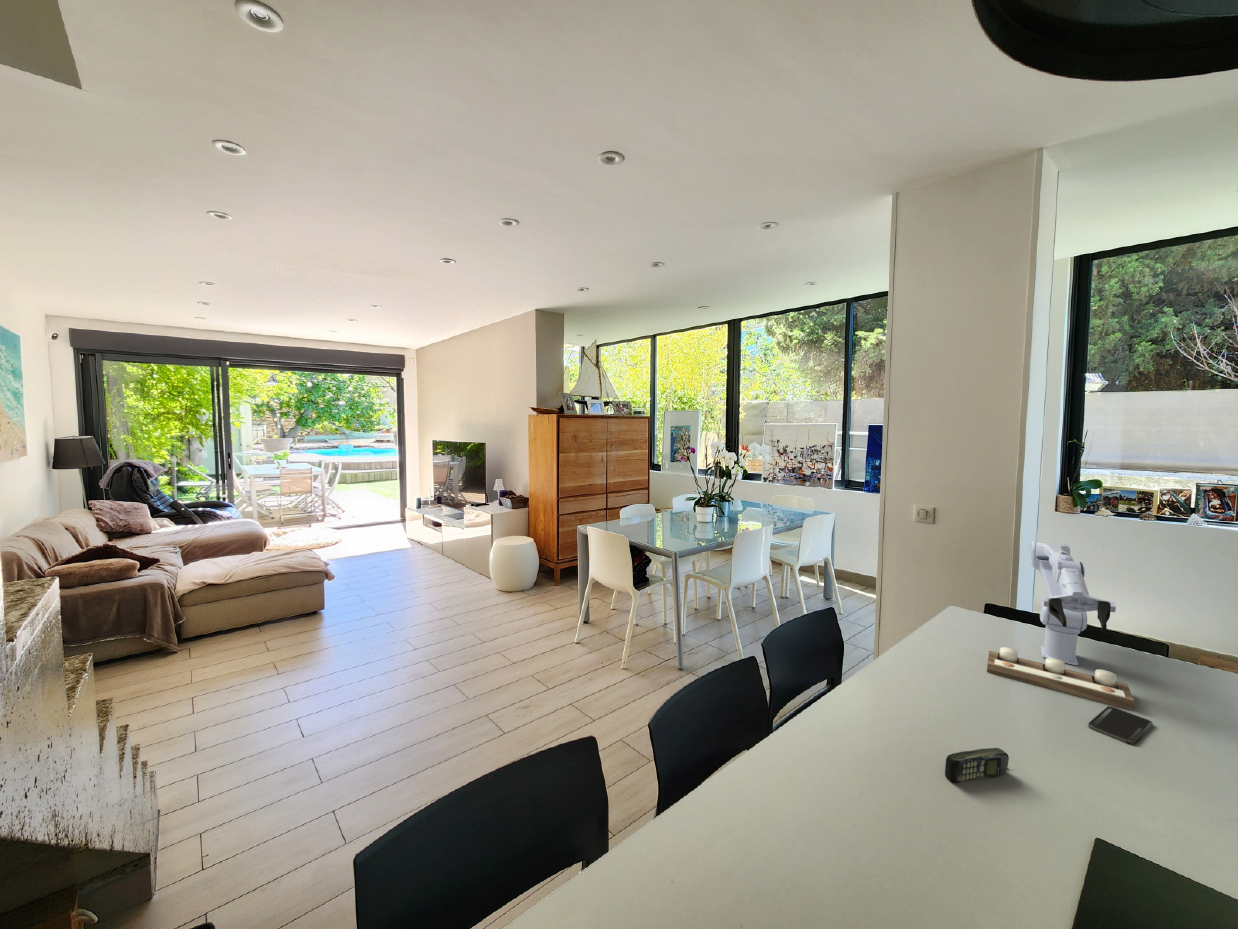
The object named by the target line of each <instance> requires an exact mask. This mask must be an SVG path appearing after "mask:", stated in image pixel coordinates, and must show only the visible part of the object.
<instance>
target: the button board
mask: <svg viewBox="0 0 1238 929" xmlns="http://www.w3.org/2000/svg"><path fill="white" fill-rule="evenodd" d="M987 658H988V660H987V667H986V672H987V673H989V674H994V675H996V676H997V675H998V676H1001V677H1004V678H1009V679H1013V680H1016V681H1020V682H1023V683H1028V684H1032V685H1035V686H1039V687H1043V688H1047V689H1050V690H1054V691H1059V692H1062V693H1066V694H1070V695H1074V696H1076V697H1077V696H1078V697H1080V698H1084V699H1089V700H1092V701H1096V702H1100V703H1104V704H1108V705H1111V706H1114V707H1115V706H1116V707H1119V708H1123V709H1127V710H1130V711H1134V706H1135V699H1134V697H1133V694H1132V692H1131V689H1130V687H1129V685H1128V683H1124V682H1122V681H1118V680H1116V686H1113V687H1112V686H1106V685H1102V684H1100V683H1098V682H1096V681H1095V680H1094V679H1095V675H1091V674H1088V673H1083V672H1079V671H1075V670H1070V669H1067V668H1065V670H1064V673H1063V674H1058V673H1053V672H1050V671H1048V670H1046V669H1045V663H1042V662H1037V661H1034V660H1029V659H1025V658H1020V657H1018V658H1017V662H1009V661H1005V660H1003V659H1001V658H1000V652H997V651H994V650H993V651H992V650H988V657H987ZM995 659H997V660H1001V661H1005V662H1009V663H1013V664H1017V665H1021V666H1025V667H1029V668H1033V669H1037V670H1041V671H1045V672H1049V673H1053V674H1057V675H1061V676H1065V677H1069V678H1073V679H1077V680H1081V681H1085V682H1089V683H1093V684H1097V685H1101V686H1105V687H1109V688H1114V689H1118V690H1122V691H1123V692H1124V694H1125V698H1124V697H1120V696H1116V695H1113V694H1109V693H1105V692H1101V691H1097V690H1093V689H1089V688H1085V687H1081V686H1077V685H1073V684H1069V683H1065V682H1061V681H1057V680H1053V679H1049V678H1045V677H1042V676H1038V675H1034V674H1030V673H1026V672H1022V671H1018V670H1014V669H1010V668H1006V667H1002V666H998V665H994V663H995Z"/></svg>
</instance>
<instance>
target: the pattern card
mask: <svg viewBox="0 0 1238 929" xmlns="http://www.w3.org/2000/svg"><path fill="white" fill-rule="evenodd" d="M994 665H998V666H1002V667H1006V668H1010V669H1014V670H1018V671H1022V672H1026V673H1030V674H1034V675H1038V676H1042V677H1045V678H1049V679H1053V680H1057V681H1061V682H1065V683H1069V684H1073V685H1077V686H1081V687H1085V688H1089V689H1093V690H1097V691H1101V692H1105V693H1109V694H1113V695H1116V696H1120V697H1124V698H1125V694H1124V692H1123V691H1122V690H1118V689H1114V688H1109V687H1105V686H1101V685H1097V684H1093V683H1089V682H1085V681H1081V680H1077V679H1073V678H1069V677H1065V676H1061V675H1057V674H1053V673H1049V672H1045V671H1041V670H1037V669H1033V668H1029V667H1025V666H1021V665H1017V664H1013V663H1009V662H1005V661H1001V660H997V659H995V663H994Z"/></svg>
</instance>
